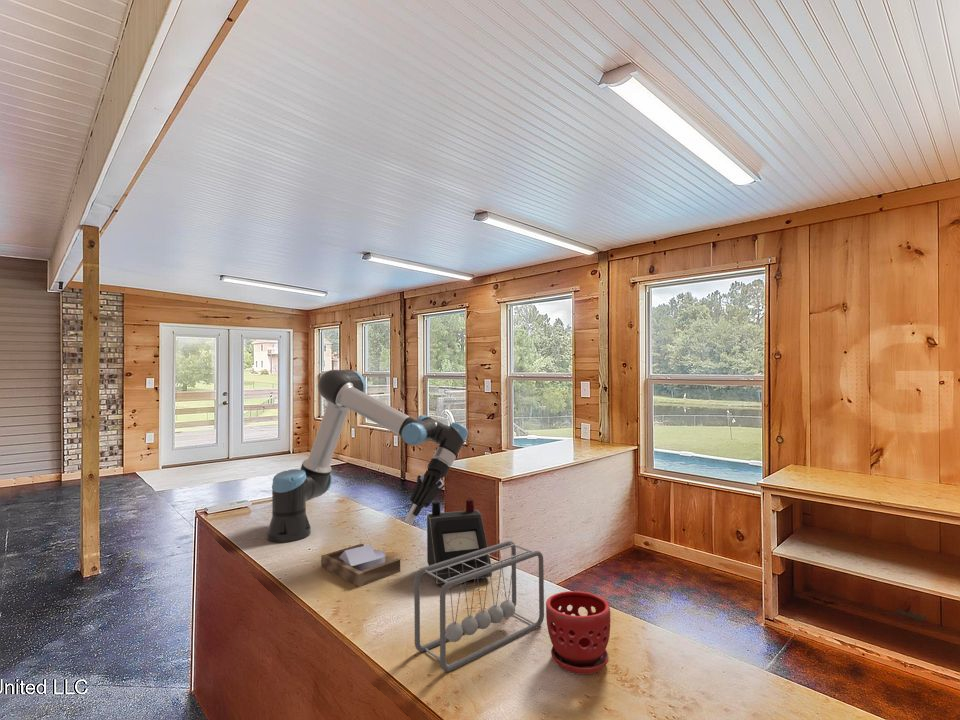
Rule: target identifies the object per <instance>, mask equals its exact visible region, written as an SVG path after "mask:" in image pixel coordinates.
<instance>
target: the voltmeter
mask: <svg viewBox="0 0 960 720" xmlns="http://www.w3.org/2000/svg"><path fill="white" fill-rule="evenodd" d="M465 501H466V503H465V504H466V505H465V510H461V511H460V510H459V511H448V512H446V511H445V512H441V501H432V502H431V508H432V509H431V513H427V514H426V533H427V534H426V542H427V543H426V550H427V551H426V556H427V557H426V558H427V559H426V561H427V562H426V563H427V564H428V565H427V566H430V565H433V564H436V563H439V562H442V561H446V560H449V559H452V558H455V557H458V556H461V555H465V554H468V553H471V552H474V551H477V550H481V549H484V548H487V547H489V546H488V542H487V538H486V537H487V536H486V531H485V528H484V522H483V517H482V513H481V512H480V511H479V510H478V509H475V499H474V498H467V499H466V500H465ZM484 554H485V553H484ZM481 555H482V554H481ZM478 556H479V555H478ZM475 557H476V556H475ZM472 558H473V557H472ZM488 558H489V563H488ZM469 559H470V558H469ZM477 559H478V560H477ZM466 560H467V559H466ZM479 560H480V561H479ZM481 561H482V562H481ZM491 561H492V560H491V556H490V554H488V555H485V556H482V557H479V558H476V563H475V559H472V560H469V561H466V562H463V563H464V564H463V568H462V563H460V564H457V565H454V566H451V567H449V571H448V568H445V569H442V570H439V571H436V572H433V573H432V574H434V575H436V576H438V577H440V578H442V579H443V580H446V579H449V574H450V578H451V577H454V576H457V575H460V573H461V574H463V571H464V573H466V572H469V571H472V570H475V569H476V566H477V568H480V567H483V566H486V565H488V564H492V562H491ZM484 562H485V563H484ZM486 563H487V564H486ZM465 564H466V565H465ZM450 565H451V564H450ZM467 565H468V566H467ZM447 566H448V565H447ZM469 566H470V567H469ZM444 567H445V566H444ZM472 567H473V568H472ZM490 567H491V566H490ZM441 568H442V567H441ZM450 568H451V569H450ZM474 568H475V569H474ZM486 568H488V567H486ZM438 569H439V568H438ZM452 569H453V570H452ZM483 569H485V568H483ZM435 570H436V569H435ZM454 570H455V571H454ZM481 570H482V569H481ZM432 571H433V570H432ZM456 571H457V572H456ZM478 571H479V570H478ZM458 572H459V573H458ZM475 572H477V571H475ZM472 573H474V572H472ZM469 574H471V573H469ZM466 575H468V574H466ZM464 576H465V575H464ZM460 577H462V576H460ZM487 577H488V578H490V573H489V575H488V574H485V575H482V576H479V577H478V581H480V580H482V581H481V582H484V581H483V580H485V581H487ZM492 577H493V572H491V578H492ZM433 578H434V581H435V583H436V584H439V586H441V587H443V585H444V584H445V582H443V581H441V580H439V579H437V578H435V577H434V576H433ZM458 578H459V577H458ZM455 579H457V578H455ZM476 579H477V578H474V579H473V580H476ZM452 580H454V579H452ZM450 581H451V580H450ZM447 582H448V581H447Z"/></svg>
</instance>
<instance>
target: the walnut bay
mask: <svg viewBox="0 0 960 720" xmlns="http://www.w3.org/2000/svg"><path fill="white" fill-rule="evenodd" d="M361 546H365V545H364V544H363V543H359V544H356V545H352V546H348V547H345V548H342V549H340V550H336V551H333V552H329V553H326V554H323V555H321V556H320V559H321V560H320V565H321V566H320V567H321V568H322V569H324V570H326V571H328V572H330V573H331V574H334V575H336V576H338V577H340V578H341V579H343V580H346V581H347V582H349V583H350V584H352V585H355V586H357V587H362V586H365V585H368V584H369V583H373V582H375V581H378V580H381V579H384V578H386V577H389V576H391V575H394V574H397V573H399V572H401V559H400V558H394V559H392V560H388V561H385V563H382V564H380V565H377V566H374V567H371V568H368V569H365V570H362V571H359V570H357V569H356V567H353V566H350V565H349V564H347V563H346V562H344V561H343V560H341V559H340V558H339V557H340V555H341V554H342V553H343V552H344V551H345V550H349V549H353V548H357V547H361Z"/></svg>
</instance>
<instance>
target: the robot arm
mask: <svg viewBox="0 0 960 720" xmlns="http://www.w3.org/2000/svg"><path fill="white" fill-rule="evenodd" d="M366 387H367V384H366V381H365V378H364V376H363V375H362V374H361V373H360V372H359V371H356V370H353V369H331V370H327V371H326V372H323V373H322V375H321V376H320V378H319V379H318V382H317V390H318V393H319V395H320V396H321V397H322V398H324V399H325V402H326V403H327V405H326V408H325V410H324V414H323V416H322V419H321V422H320V425H319V427H318V430H317V433H316V436H315V438H314V441H313V444H312V447H311V450H310V453H309V456H308V458H306V459H304V460H303V461H302V464H301V466H300V469H299V468H295V469H288V470H282V471H280V472H279V473H276V474H275V475H273V476H274V477H273V478H272V484H271V491H272V492H271V493H272V494H271V495H272V496H271V497H272V498H271V499H272V501H271V502H272V503H271V504H272V505H271V506H272V514H271V515H272V517H271V519H270V523H269V526H268V527H267V528H268V529H267V532H266V538H267V540H268V541H270V542H273V543H274V542H275V543H287V542H288V543H289V542H295V541H299V540H303V539H305V538H307V537H309V536H310V535H311V531H312V530H311V524H310V522H309V519H308V516H307V512H306V511H307V509H306V508H307V505H306V504H307V502H308V501H311V500H312V499H313V500H314V499H315V498H319V497H321V496H322V495H324V494H326V493H327V491H329V490H330V488H331V486H332V483H333V476H332V467H331V461H332V458H333V456H334V453H335V450H336V447H337V445H338V442H339V439H340V436H341V433H342V430H343V428H344V426H345V422H346V419H347V416H348V415H349V414H348V413H349V411H352V412H355V413H357V414H358V415H360V416H362V417H364V418H366V419H368V420H370V421H371V422H373V423H375V424H377V425H379V426H380V427H383V428H385V429H387V430H388V431H390V432H392V433H394V434H396V435H397V436H398V437H399V436H400V437H402V439H403V442H404V443H405V444H407V445H409V446H417V445H421V444H423V443H425V442H428V441H431V442H434V443H436V445H437V444H438V447H437V448H436V449H435V451H434V454H433V455H432V458H431V459H430V461H429V462H428V465H427V470H426V472H425V473H424V474H422V475H420V474H419V475H417V478H416V479H417V480H416V483H415V486H414V488H413V491H412V493H411V495H410V498H409V501H410V502H412V503H411V506H410V507H409V510H408V513H407V514H406V516H405V518H404V520H403V522H404V523H406V524H407V525H409V526H412V525H413V523H414V522H415V520H416V518H417V517H418V515H420V513H421V511H422V509H423V508H429V506H430V504H432V503H433V502H434V500H435V498H436V496H438V494H439V493H440V491H441V490H443V489H444V488H445V487H446V485H445V484H444V483H443V479H444V478H446V477H447V475H448V473H449V471H450V468H451V467H452V466H453V463H454V462H455V461H456V458H457V456H458V454H459V453H460V450H461V449H462V447H463V446H464V444H465V441H466V439H467V437H468V435H469V430H468V429H467V428H466V426H464V425H463V424H461V423H458V422H451V424H450V425H447V424H445V423H443V422H440V421H439V420H436V419H434V418H432V417H431V416H428V415H425V414H420V415H419V416H417V418H416V419H415V418H413V417H411V416H410V415H407V414H406V413H404V412H403V411H400V410H398V409H396V408H394V407H392V406H390V405H389V404H386V403H385V402H383V401H381V400H379V399H377V398H375V397H374V396H372V395H370V394H367V393H365V392H366Z"/></svg>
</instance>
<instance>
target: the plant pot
mask: <svg viewBox="0 0 960 720" xmlns="http://www.w3.org/2000/svg"><path fill="white" fill-rule="evenodd" d="M569 606H571V607H572V608H571V609H570V610H569V609H568V607H569ZM592 607H593V608H594V609H595V611H593V609H592ZM579 608H584V609H585V610H586V611H587V614H586V615H580V613H579V610H580V609H579ZM545 615H546V618H545V619H546V625H547V632H548V635H549V639H550V641H551V645H552V647H551V650H550V654H551V658H552V659H553V662H554V663H555V664H556V665H557V666H559V668H561V669H563V670H564V671H566V672H569V673H573V674H577V675H590V674H594V673H595V672H596V673H597V672H599V671H601V670H602V669H604V668H605V667H606V665H607V664H608V662H609V658H610V657H609V653H608V651H607V646H608V644H609V640H610V634H611V607H610V603H608V601H607V600H606V599H605V598H603V597H601V596H599V595H597V594H594V593H591V592H586V591H577V590H572V591H571V590H570V591H569V590H568V591H562V592H558V593H554V594H552V595H550V597H548V598H547V600H546V602H545Z"/></svg>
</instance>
